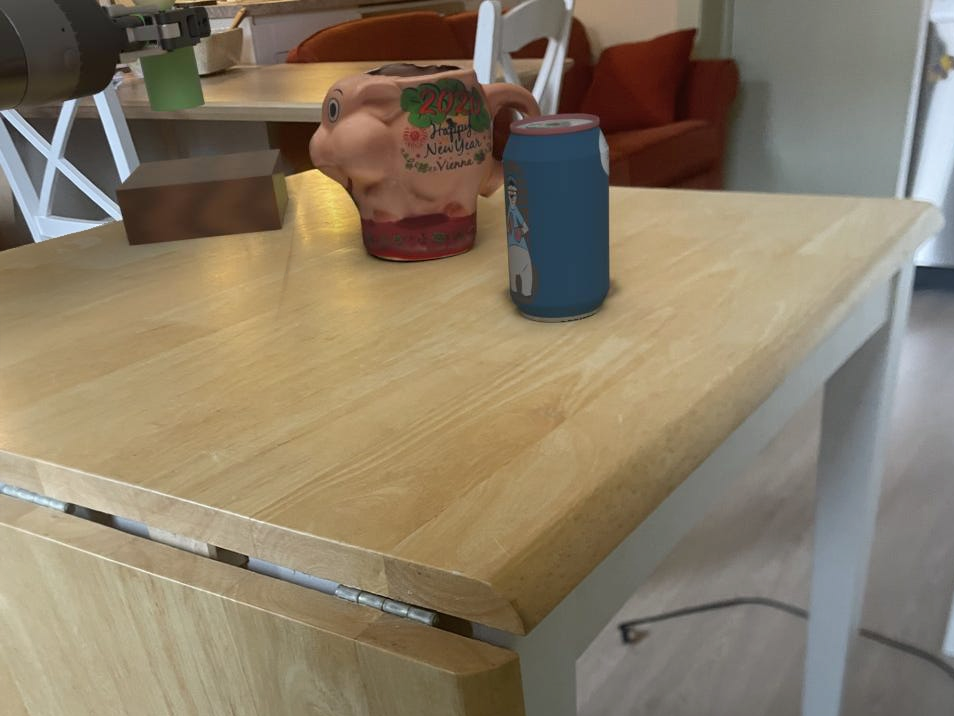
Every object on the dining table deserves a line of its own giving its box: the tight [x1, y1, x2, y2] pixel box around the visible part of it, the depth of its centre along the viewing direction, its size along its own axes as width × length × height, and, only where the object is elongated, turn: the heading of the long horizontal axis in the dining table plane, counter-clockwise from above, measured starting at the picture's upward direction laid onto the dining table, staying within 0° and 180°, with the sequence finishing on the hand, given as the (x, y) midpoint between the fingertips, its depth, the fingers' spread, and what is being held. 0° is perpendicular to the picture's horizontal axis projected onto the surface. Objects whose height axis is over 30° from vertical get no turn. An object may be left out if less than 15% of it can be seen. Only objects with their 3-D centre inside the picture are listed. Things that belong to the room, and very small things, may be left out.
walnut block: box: [114, 148, 289, 247], centre depth 98 cm, size 14×14×6 cm
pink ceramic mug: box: [308, 61, 542, 261], centre depth 85 cm, size 20×12×14 cm, turn 113°
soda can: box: [502, 113, 611, 323], centre depth 68 cm, size 7×7×12 cm
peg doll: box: [129, 0, 206, 112], centre depth 84 cm, size 5×5×11 cm
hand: (180, 23), depth 86 cm, fingers closed on peg doll, 4 cm apart
